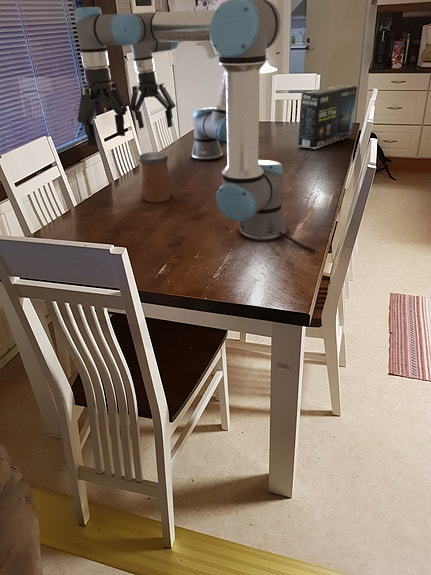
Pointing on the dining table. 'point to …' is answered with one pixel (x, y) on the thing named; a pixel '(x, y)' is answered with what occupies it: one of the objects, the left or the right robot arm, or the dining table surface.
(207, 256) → the dining table surface
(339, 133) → the router box
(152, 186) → the jar
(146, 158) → the lid
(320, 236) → the dining table surface
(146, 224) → the dining table surface
